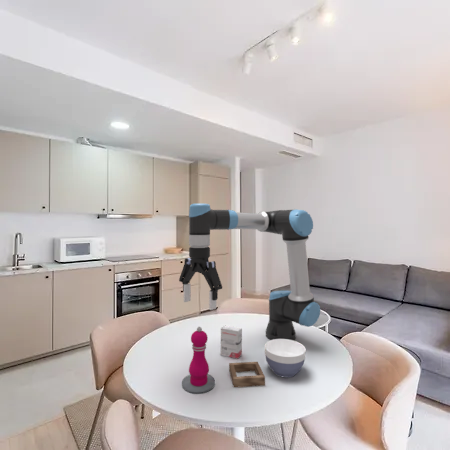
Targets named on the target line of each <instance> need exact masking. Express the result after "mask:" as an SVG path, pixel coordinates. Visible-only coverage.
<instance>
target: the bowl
mask: <svg viewBox="0 0 450 450" xmlns="http://www.w3.org/2000/svg"><path fill="white" fill-rule="evenodd" d="M306 352H307V349H306V346H305V345H304V344H302V343H300V342H299V341H296V340H288V339H273V340H270V339H269V340H268V341H266V343H265V344H264V355H265V360H266V362H267V364H268V367H269V368H270V370H272V372H273V373H274V374H275V375H276V374H277V376H278V375H279V377H281V376H283V378H292V377H295V376H296V375H297V373H299V372H300V371H301V369H302V368H303V366H304V364H305V359H306ZM295 374H296V375H295ZM294 375H295V376H294Z"/></svg>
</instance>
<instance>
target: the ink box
mask: <svg viewBox="0 0 450 450" xmlns="http://www.w3.org/2000/svg"><path fill="white" fill-rule="evenodd" d="M242 344H243V328H242V327H237V326H236V327H235V326H231V325H223V326H222V327H221V328H220V356H223V357H228V358H229V357H230V358H233V359H236V358H237V359H239V358H240V357H241V355H242V353H243V351H242V349H243V345H242ZM237 359H236V360H237Z"/></svg>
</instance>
